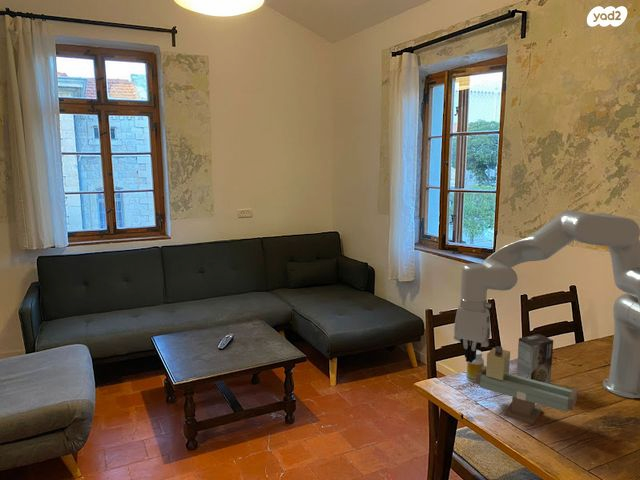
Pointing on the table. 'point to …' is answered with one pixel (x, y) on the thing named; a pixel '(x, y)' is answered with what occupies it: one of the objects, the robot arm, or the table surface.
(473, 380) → the supplement bottle
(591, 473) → the table surface
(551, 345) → the coffee box
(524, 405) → the beam
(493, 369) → the block
